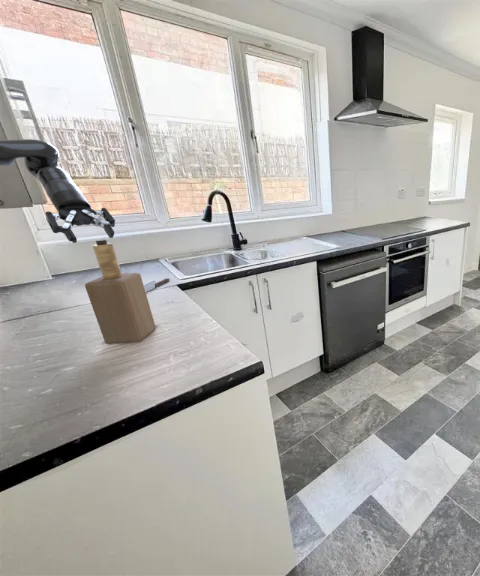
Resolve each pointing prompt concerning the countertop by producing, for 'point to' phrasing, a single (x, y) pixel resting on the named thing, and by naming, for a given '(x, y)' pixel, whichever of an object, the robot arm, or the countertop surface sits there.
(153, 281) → the kitchen knife
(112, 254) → the pepper mill
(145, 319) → the block
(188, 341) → the countertop surface
